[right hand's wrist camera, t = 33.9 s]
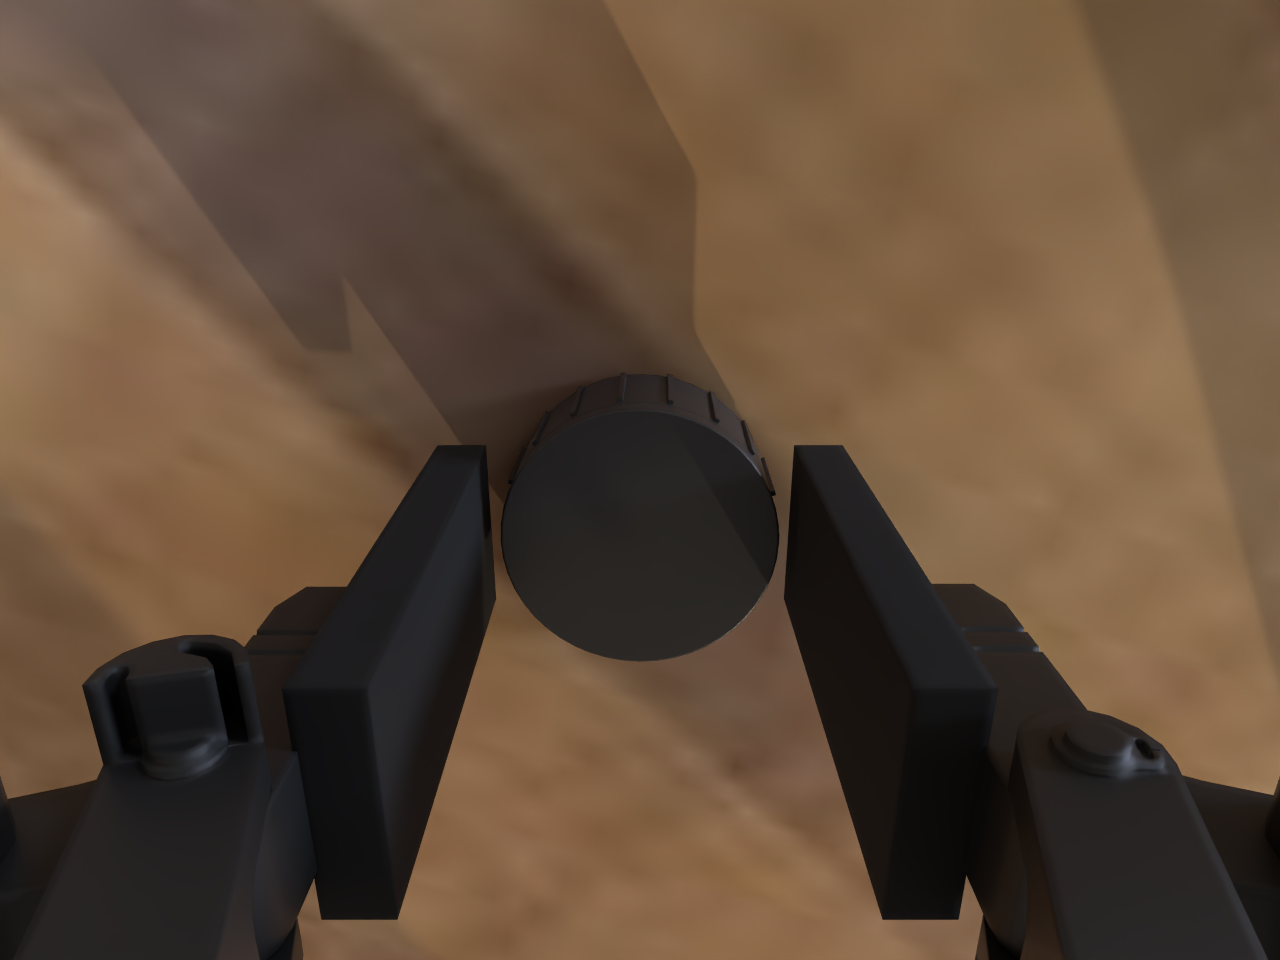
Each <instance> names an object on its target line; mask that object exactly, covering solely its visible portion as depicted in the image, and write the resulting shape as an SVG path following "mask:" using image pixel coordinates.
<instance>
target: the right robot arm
mask: <svg viewBox="0 0 1280 960" xmlns="http://www.w3.org/2000/svg"><path fill="white" fill-rule="evenodd" d="M495 600H496V590H495V575H494V560H493V545H492V530H491V515H490V500H489V485H488V470H487V455H486V445H438V446H437V447H436V449H435V450H434V452H433V453H432V455H431V456H430V458H429V460H428V461H427V463H426V464H425V466H424V467H423V469H422V470H421V472H420V474H419V475H418V477H417V478H416V480H415V481H414V483H413V484H412V486H411V488H410V489H409V491H408V492H407V494H406V495H405V497H404V499H403V500H402V502H401V503H400V505H399V506H398V508H397V509H396V511H395V513H394V514H393V516H392V517H391V519H390V520H389V522H388V523H387V525H386V527H385V528H384V530H383V531H382V533H381V534H380V536H379V537H378V539H377V541H376V542H375V544H374V545H373V547H372V548H371V550H370V552H369V553H368V555H367V556H366V558H365V559H364V561H363V562H362V564H361V566H360V567H359V569H358V570H357V572H356V573H355V575H354V576H353V578H352V580H351V581H350V583H349V584H348V586H347V587H306V588H304V589H302V590H301V591H299V592H298V593H296V594H295V595H293V596H291V597H290V598H288V599H287V600H285V601H284V602H282V603H280V604H279V605H277V606H276V607H275V608H274V609H273V610H272V612H271V613H270V614H269V615H268V617H267V618H266V619H265V621H264V622H263V623H262V625H261V626H260V627H259V629H258V630H257V635H253V636H252V638H251V639H250V640H249V642H248V643H247V644H246V646H245V647H243V646H242V645H241V644H239V643H238V642H237V641H235V640H234V639H229V638H225V637H220V636H216V635H184V636H179V637H174V638H169V639H164V640H159V641H154V642H151V643H148V644H146V645H143V646H140V647H138V648H135V649H132V650H130V651H127V652H124V653H122V654H120V655H119V656H117V657H116V658H114V659H112V660H111V661H109V662H107V663H106V664H104V665H102V666H101V667H99V668H98V669H97V670H96V671H95V672H94V673H93V674H92V675H91V676H90V677H89V678H88V680H87V681H86V682H85V683H84V684H83V685H82V687H83V690H84V694H85V698H86V702H87V705H88V709H89V713H90V716H91V720H92V724H93V728H94V731H95V735H96V739H97V742H98V746H99V750H100V754H101V757H102V761H103V767H102V769H101V771H100V773H99V776H98V778H97V780H94V781H90V782H86V783H83V784H79V785H74V786H69V787H65V788H60V789H55V790H50V791H45V792H40V793H35V794H30V795H25V796H21V797H16V798H11V799H7V796H6V793H5V790H4V787H3V784H2V781H1V777H0V960H303V949H302V942H301V935H300V930H299V924H298V919H297V916H298V914H299V912H300V909H301V907H302V905H303V903H304V900H305V898H306V896H307V893H308V891H309V889H310V887H311V884H312V882H313V880H314V879H315V885H316V891H317V896H318V902H319V908H320V914H321V919H322V920H397V919H398V916H399V913H400V909H401V906H402V903H403V900H404V896H405V893H406V890H407V887H408V883H409V880H410V877H411V874H412V870H413V867H414V864H415V861H416V857H417V854H418V851H419V848H420V844H421V841H422V838H423V835H424V831H425V828H426V825H427V822H428V818H429V815H430V812H431V809H432V805H433V802H434V799H435V796H436V792H437V789H438V786H439V783H440V779H441V776H442V773H443V769H444V766H445V763H446V760H447V756H448V753H449V750H450V747H451V743H452V740H453V737H454V734H455V730H456V727H457V724H458V721H459V717H460V714H461V711H462V708H463V704H464V701H465V698H466V695H467V691H468V688H469V685H470V682H471V678H472V675H473V672H474V669H475V665H476V662H477V659H478V656H479V652H480V649H481V646H482V643H483V639H484V636H485V633H486V630H487V626H488V623H489V620H490V617H491V613H492V610H493V607H494V603H495ZM784 600H785V603H786V607H787V610H788V613H789V616H790V620H791V623H792V626H793V629H794V633H795V636H796V639H797V642H798V646H799V649H800V652H801V655H802V659H803V662H804V665H805V668H806V672H807V675H808V678H809V682H810V685H811V688H812V691H813V695H814V698H815V701H816V704H817V708H818V711H819V714H820V717H821V721H822V724H823V727H824V730H825V734H826V737H827V740H828V743H829V747H830V750H831V753H832V756H833V760H834V763H835V766H836V769H837V773H838V776H839V779H840V782H841V786H842V789H843V792H844V795H845V799H846V802H847V805H848V808H849V812H850V815H851V818H852V821H853V825H854V828H855V831H856V834H857V838H858V841H859V844H860V848H861V851H862V854H863V857H864V861H865V864H866V867H867V870H868V874H869V877H870V880H871V883H872V887H873V890H874V893H875V896H876V900H877V903H878V906H879V909H880V913H881V916H882V919H883V920H959V914H960V908H961V902H962V897H963V891H964V885H965V879H966V875H967V877H968V880H969V882H970V884H971V886H972V889H973V891H974V893H975V896H976V898H977V900H978V902H979V905H980V907H981V909H982V912H983V919H982V924H981V930H980V935H979V941H978V946H977V951H976V957H975V960H1280V778H1279V781H1278V784H1277V787H1276V790H1275V793H1274V795H1269V794H1265V793H1260V792H1255V791H1250V790H1245V789H1240V788H1235V787H1230V786H1225V785H1220V784H1215V783H1211V782H1206V781H1201V780H1198V779H1194V778H1190V777H1186V776H1183V775H1182V774H1181V772H1180V770H1179V768H1178V765H1177V764H1176V762H1175V761H1174V760H1173V758H1172V757H1171V756H1170V754H1169V753H1168V752H1167V751H1166V749H1165V748H1164V747H1163V745H1161V744H1160V743H1159V742H1157V741H1156V740H1154V739H1153V738H1152V737H1150V736H1149V735H1147V734H1146V733H1145V732H1143V731H1142V730H1140V729H1139V728H1137V727H1135V726H1132V725H1130V724H1128V723H1125V722H1123V721H1121V720H1119V719H1116V718H1114V717H1112V716H1109V715H1105V714H1100V713H1096V712H1092V711H1088V710H1087V709H1086V708H1085V706H1084V705H1083V704H1082V703H1081V701H1080V700H1079V699H1078V697H1077V696H1076V695H1075V693H1074V692H1073V691H1072V690H1071V688H1070V687H1069V686H1068V684H1067V683H1066V682H1065V680H1064V679H1063V678H1062V677H1061V675H1060V674H1059V673H1058V671H1057V670H1056V669H1055V667H1054V666H1053V665H1052V664H1051V662H1050V661H1049V660H1048V658H1047V657H1046V656H1045V655H1044V653H1043V652H1039V647H1038V645H1037V644H1036V643H1035V642H1034V640H1033V639H1032V638H1031V636H1030V635H1029V634H1028V632H1024V627H1023V626H1022V625H1021V623H1020V622H1019V621H1018V619H1017V618H1016V617H1015V616H1014V614H1013V613H1012V612H1011V610H1010V609H1009V608H1008V607H1007V605H1006V604H1005V603H1003V602H1002V601H1000V600H998V599H997V598H995V597H994V596H992V595H991V594H989V593H987V592H986V591H984V590H983V589H981V588H979V587H978V586H976V585H975V584H931V583H930V581H929V580H928V578H927V576H926V575H925V573H924V572H923V570H922V569H921V567H920V566H919V564H918V562H917V561H916V559H915V558H914V556H913V555H912V553H911V551H910V550H909V548H908V547H907V545H906V544H905V542H904V541H903V539H902V537H901V536H900V534H899V533H898V531H897V530H896V528H895V527H894V525H893V523H892V522H891V520H890V519H889V517H888V516H887V514H886V513H885V511H884V509H883V508H882V506H881V505H880V503H879V502H878V500H877V498H876V497H875V495H874V494H873V492H872V491H871V489H870V488H869V486H868V484H867V483H866V481H865V480H864V478H863V477H862V475H861V474H860V472H859V470H858V469H857V467H856V466H855V464H854V463H853V461H852V460H851V458H850V456H849V455H848V453H847V452H846V450H845V449H844V447H843V445H794V456H793V471H792V486H791V501H790V516H789V531H788V546H787V561H786V576H785V591H784Z"/></svg>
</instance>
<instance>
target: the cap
mask: <svg viewBox="0 0 1280 960" xmlns="http://www.w3.org/2000/svg"><path fill="white" fill-rule="evenodd" d="M508 484H511V487H510V489H509V492H508V495H507V498H506V502H505V505H504V508H503V515H502V521H501V545H502V552H503V559H504V562H505V566H506V569H507V572H508V575H509V577H510V580H511V582H512V584H513V586H514V588H515V590H516V592H517V593H518V595H519V597H520V598H521V600H522V601H523V603H524V604H525V606H526V607H527V608H528V609H529V610H530V612H531V613H532V614H533V615H534V616H535V617H536V618H537V619H538V620H539V621H540V622H541V623H542V624H543V625H544V626H545V627H546V628H548V629H549V630H550V631H552V632H553V633H554V634H556V635H557V636H558V637H560V638H561V639H563V640H565V641H567V642H568V643H570V644H572V645H574V646H576V647H578V648H581V649H583V650H585V651H588V652H590V653H593V654H597V655H600V656H603V657H607V658H613V659H619V660H626V661H657V660H664V659H670V658H675V657H679V656H682V655H686V654H689V653H692V652H694V651H697V650H699V649H702V648H704V647H706V646H708V645H710V644H712V643H714V642H715V641H717V640H719V639H721V638H722V637H723V636H725V635H726V634H728V633H729V632H730V631H732V630H733V629H734V628H735V627H736V626H738V625H739V624H740V623H741V622H742V621H743V620H744V619H745V618H746V617H747V616H748V614H749V613H750V612H751V611H752V610H753V608H754V607H755V606H756V605H757V603H758V602H759V600H760V598H761V597H762V595H763V593H764V592H765V590H766V588H767V586H768V584H769V581H770V579H771V577H772V574H773V571H774V567H775V564H776V560H777V553H778V546H779V525H778V519H777V513H776V508H775V504H774V501H773V498H772V496H774V495H776V494H775V490H774V487H773V484H772V481H771V478H770V474H769V471H768V468H767V465H766V462H765V459H764V458H761V459H760V456H759V453H758V450H757V447H756V445H755V443H754V441H753V439H752V437H751V435H750V433H749V429H748V426H747V423H746V422H745V420H743V421H742V422H741V421H740V420H739V418H738V417H737V416H736V415H735V414H734V413H733V412H732V411H731V410H730V409H729V408H728V407H727V406H726V405H724V404H723V403H722V402H721V401H720V400H718V399H717V398H715V393H714V392H712V391H710V392H709V393H708V392H706V391H704V390H702V389H700V388H698V387H696V386H694V385H692V384H690V383H687V382H684V381H680V380H677V379H674V378H673V376H672V375H669V374H668V375H667V377H664V376H659V375H645V374H638V375H627V374H626V372H625V373H621V376H619V377H613V378H608V379H605V380H602V381H599V382H596V383H593V384H591V385H589V386H587V387H585V388H584V387H583V385H581V386H579V387H578V389H577V392H575V393H574V394H572V395H571V396H569V397H568V398H566V399H565V400H563V401H562V402H561V403H560V404H559V405H558V406H556V407H555V408H554V409H553V410H552V411H551V412H550V413H548V412H547V411H546V412H545V413H544V414H543V417H542V419H541V422H540V424H539V427H538V428H537V430H536V431H535V433H534V434H533V436H532V438H531V440H530V442H529V445H528V447H527V448H525V447H523V449H522V451H521V454H520V456H519V458H518V460H517V463H516V465H515V467H514V470H513V472H512V474H511V477H510V479H509V482H508Z"/></svg>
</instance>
